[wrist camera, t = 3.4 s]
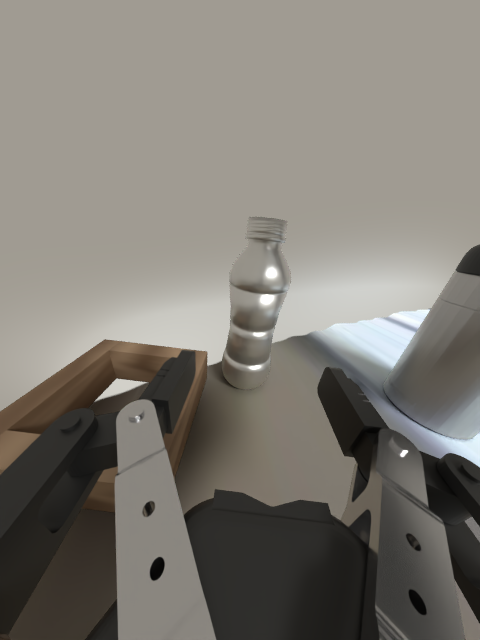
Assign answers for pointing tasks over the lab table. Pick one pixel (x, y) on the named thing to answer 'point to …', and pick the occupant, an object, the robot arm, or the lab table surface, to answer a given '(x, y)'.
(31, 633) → the lab table surface
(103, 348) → the wooden square frame
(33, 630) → the lab table surface
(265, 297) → the plastic bottle
